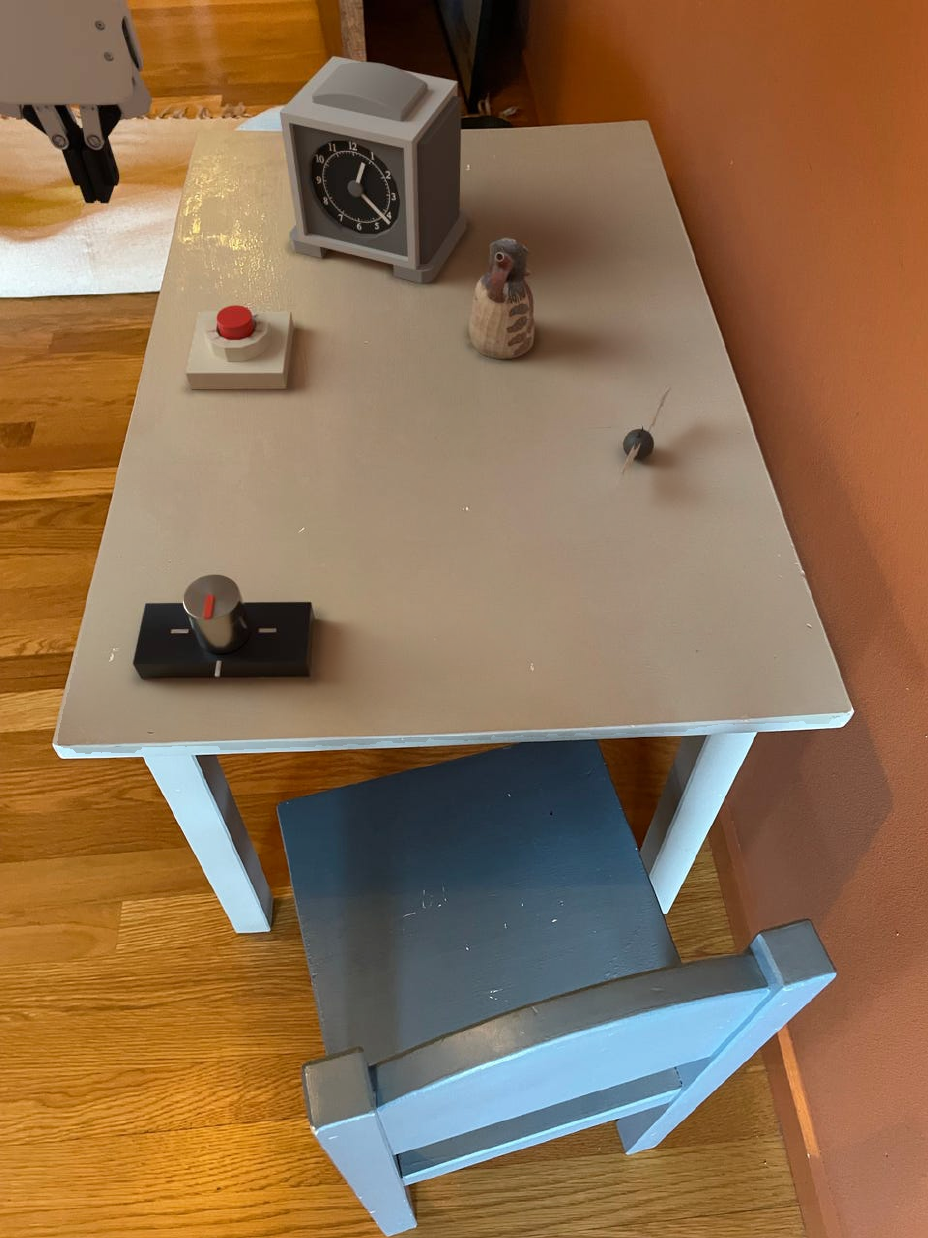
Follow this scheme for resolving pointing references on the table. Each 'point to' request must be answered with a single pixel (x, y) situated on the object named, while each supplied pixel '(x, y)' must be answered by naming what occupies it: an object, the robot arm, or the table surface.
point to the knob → (217, 613)
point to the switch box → (241, 353)
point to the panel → (267, 652)
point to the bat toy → (640, 441)
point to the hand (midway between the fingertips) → (101, 192)
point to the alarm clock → (376, 166)
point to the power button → (235, 322)
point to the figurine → (503, 304)
